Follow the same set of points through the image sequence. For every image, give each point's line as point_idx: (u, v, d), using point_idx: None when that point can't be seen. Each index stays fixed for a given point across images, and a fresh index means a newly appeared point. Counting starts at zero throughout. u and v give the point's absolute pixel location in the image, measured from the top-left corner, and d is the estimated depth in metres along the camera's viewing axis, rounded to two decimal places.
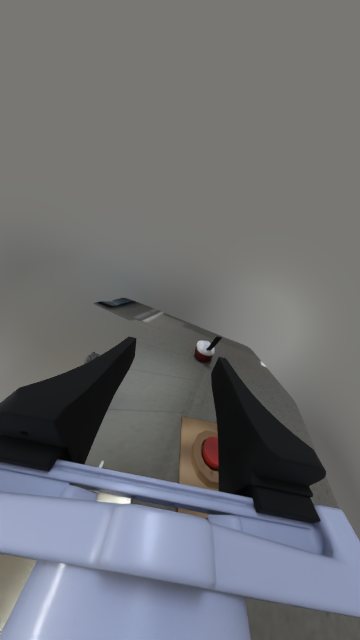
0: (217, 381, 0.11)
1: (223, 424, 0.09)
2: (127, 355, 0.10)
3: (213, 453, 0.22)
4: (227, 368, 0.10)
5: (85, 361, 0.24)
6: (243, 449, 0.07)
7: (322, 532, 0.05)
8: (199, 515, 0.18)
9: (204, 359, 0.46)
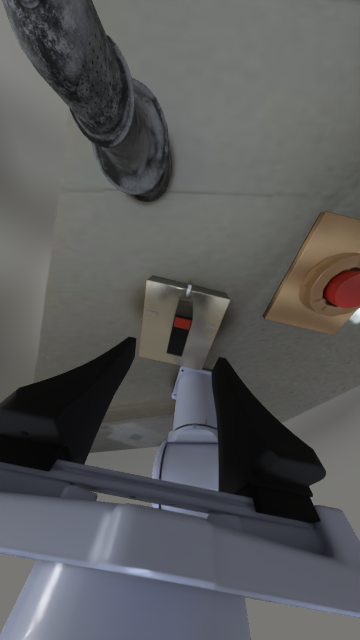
0: (217, 381, 0.11)
1: (223, 424, 0.09)
2: (127, 355, 0.10)
3: (347, 296, 0.14)
4: (227, 368, 0.10)
5: (24, 48, 0.05)
6: (243, 449, 0.06)
7: (322, 532, 0.05)
8: (284, 322, 0.19)
9: None
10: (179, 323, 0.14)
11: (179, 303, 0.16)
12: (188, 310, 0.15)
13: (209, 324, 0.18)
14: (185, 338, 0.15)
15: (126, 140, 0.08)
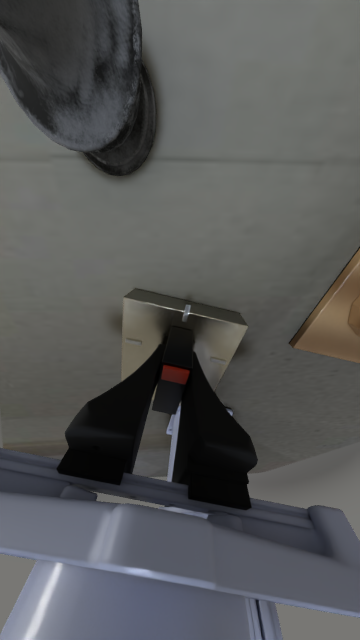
0: None
1: (182, 415, 0.09)
2: None
3: None
4: None
5: None
6: (188, 437, 0.06)
7: (322, 532, 0.05)
8: (321, 353, 0.14)
9: None
10: (170, 375, 0.08)
11: (172, 333, 0.11)
12: (185, 348, 0.09)
13: (216, 358, 0.13)
14: (180, 393, 0.09)
15: None
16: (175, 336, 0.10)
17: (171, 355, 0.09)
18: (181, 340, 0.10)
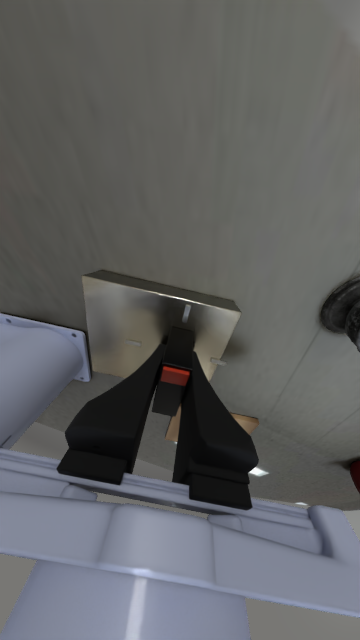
0: None
1: (183, 415, 0.09)
2: None
3: None
4: None
5: None
6: (188, 437, 0.06)
7: (322, 532, 0.05)
8: (173, 417, 0.21)
9: (357, 474, 0.22)
10: (169, 377, 0.08)
11: (172, 334, 0.11)
12: (185, 349, 0.09)
13: None
14: (180, 395, 0.09)
15: None
16: (175, 337, 0.10)
17: (171, 356, 0.08)
18: (181, 341, 0.10)
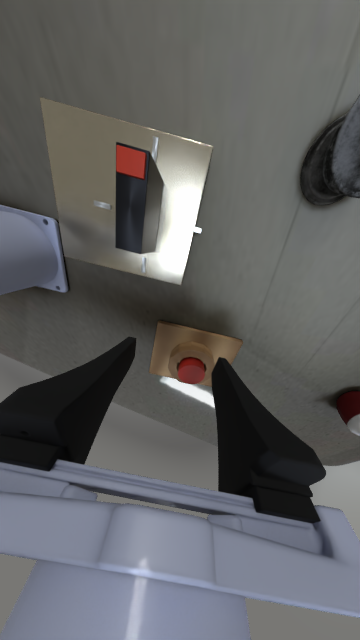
0: (217, 381, 0.11)
1: (223, 424, 0.09)
2: (127, 355, 0.10)
3: (187, 371, 0.19)
4: (227, 368, 0.10)
5: None
6: (243, 449, 0.07)
7: (322, 532, 0.05)
8: (155, 339, 0.20)
9: (343, 404, 0.22)
10: (125, 161, 0.07)
11: None
12: None
13: (146, 263, 0.14)
14: (142, 207, 0.08)
15: None
16: None
17: None
18: None
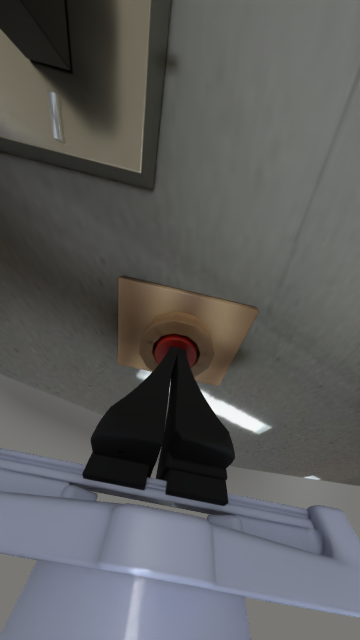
0: (173, 371, 0.11)
1: (168, 412, 0.09)
2: (173, 365, 0.10)
3: None
4: (180, 357, 0.10)
5: None
6: (169, 433, 0.06)
7: (322, 532, 0.05)
8: (119, 308, 0.13)
9: None
10: None
11: None
12: None
13: (61, 113, 0.06)
14: None
15: None
16: None
17: None
18: None
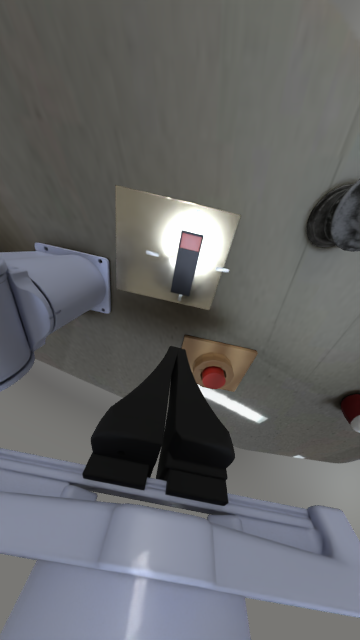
0: (173, 371, 0.11)
1: (169, 412, 0.09)
2: (173, 365, 0.10)
3: (211, 378, 0.22)
4: (180, 357, 0.10)
5: None
6: (169, 433, 0.06)
7: (322, 532, 0.05)
8: None
9: (346, 406, 0.25)
10: (187, 242, 0.11)
11: None
12: None
13: None
14: (194, 267, 0.12)
15: None
16: None
17: None
18: None
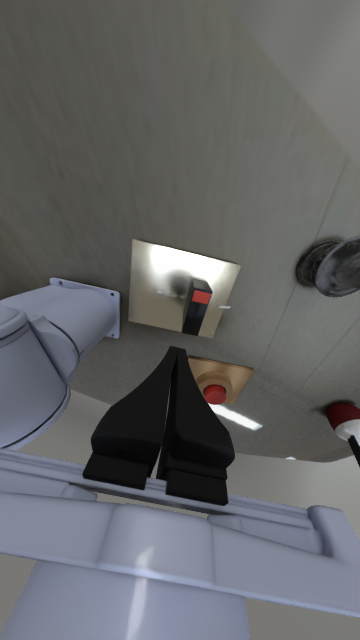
0: (173, 371, 0.11)
1: (168, 412, 0.09)
2: (174, 365, 0.10)
3: (213, 396, 0.24)
4: (180, 357, 0.10)
5: None
6: (169, 433, 0.06)
7: (322, 532, 0.05)
8: None
9: (331, 414, 0.28)
10: (198, 297, 0.13)
11: (194, 280, 0.15)
12: (205, 285, 0.14)
13: None
14: (203, 314, 0.14)
15: None
16: (197, 281, 0.15)
17: (198, 286, 0.13)
18: (201, 283, 0.15)
